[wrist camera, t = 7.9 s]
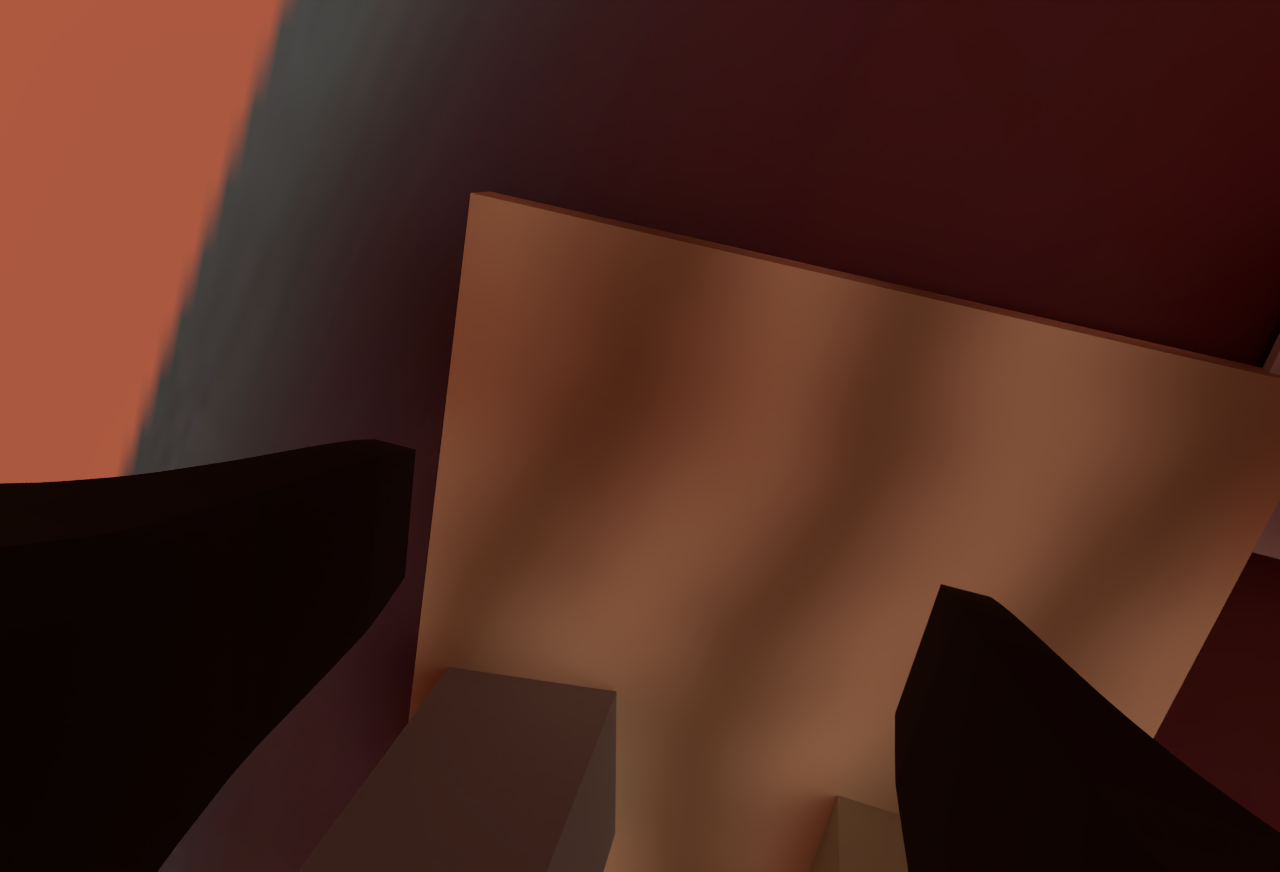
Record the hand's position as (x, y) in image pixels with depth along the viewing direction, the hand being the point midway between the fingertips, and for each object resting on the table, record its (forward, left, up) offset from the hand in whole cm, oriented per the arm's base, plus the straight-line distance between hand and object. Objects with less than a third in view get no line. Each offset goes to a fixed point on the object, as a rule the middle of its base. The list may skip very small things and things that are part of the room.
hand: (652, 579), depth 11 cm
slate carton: (+3, +12, -9) cm, 15 cm away
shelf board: (-3, +8, -10) cm, 13 cm away
